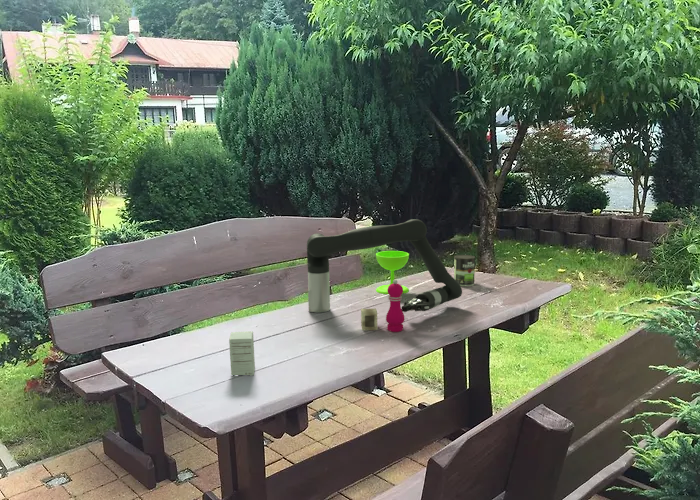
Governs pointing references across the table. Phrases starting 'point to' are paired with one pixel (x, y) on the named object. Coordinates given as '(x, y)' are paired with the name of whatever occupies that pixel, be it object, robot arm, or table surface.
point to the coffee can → (464, 269)
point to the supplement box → (242, 353)
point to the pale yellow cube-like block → (369, 319)
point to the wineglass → (391, 266)
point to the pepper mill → (395, 308)
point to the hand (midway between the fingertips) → (403, 309)
